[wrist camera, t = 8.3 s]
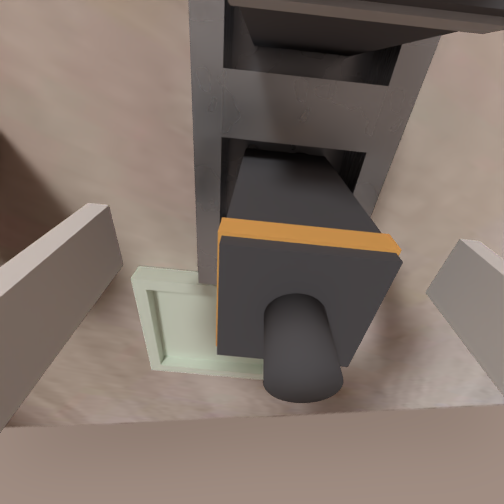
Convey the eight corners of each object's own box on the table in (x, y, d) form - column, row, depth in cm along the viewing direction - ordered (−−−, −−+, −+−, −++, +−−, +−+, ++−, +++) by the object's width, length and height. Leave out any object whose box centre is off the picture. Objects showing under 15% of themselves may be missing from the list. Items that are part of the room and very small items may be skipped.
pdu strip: (208, 252, 19) (198, 283, 16) (205, -283, 8) (171, -488, 5) (328, 263, 19) (339, 296, 16) (492, -245, 8) (619, -423, 5)
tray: (156, 356, 27) (151, 369, 26) (138, 266, 20) (130, 278, 19) (270, 366, 27) (270, 380, 26) (290, 280, 20) (292, 294, 19)
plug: (238, 220, 17) (202, 420, 7) (244, 146, 14) (196, 299, 5) (309, 227, 17) (369, 435, 7) (327, 154, 14) (460, 324, 5)
